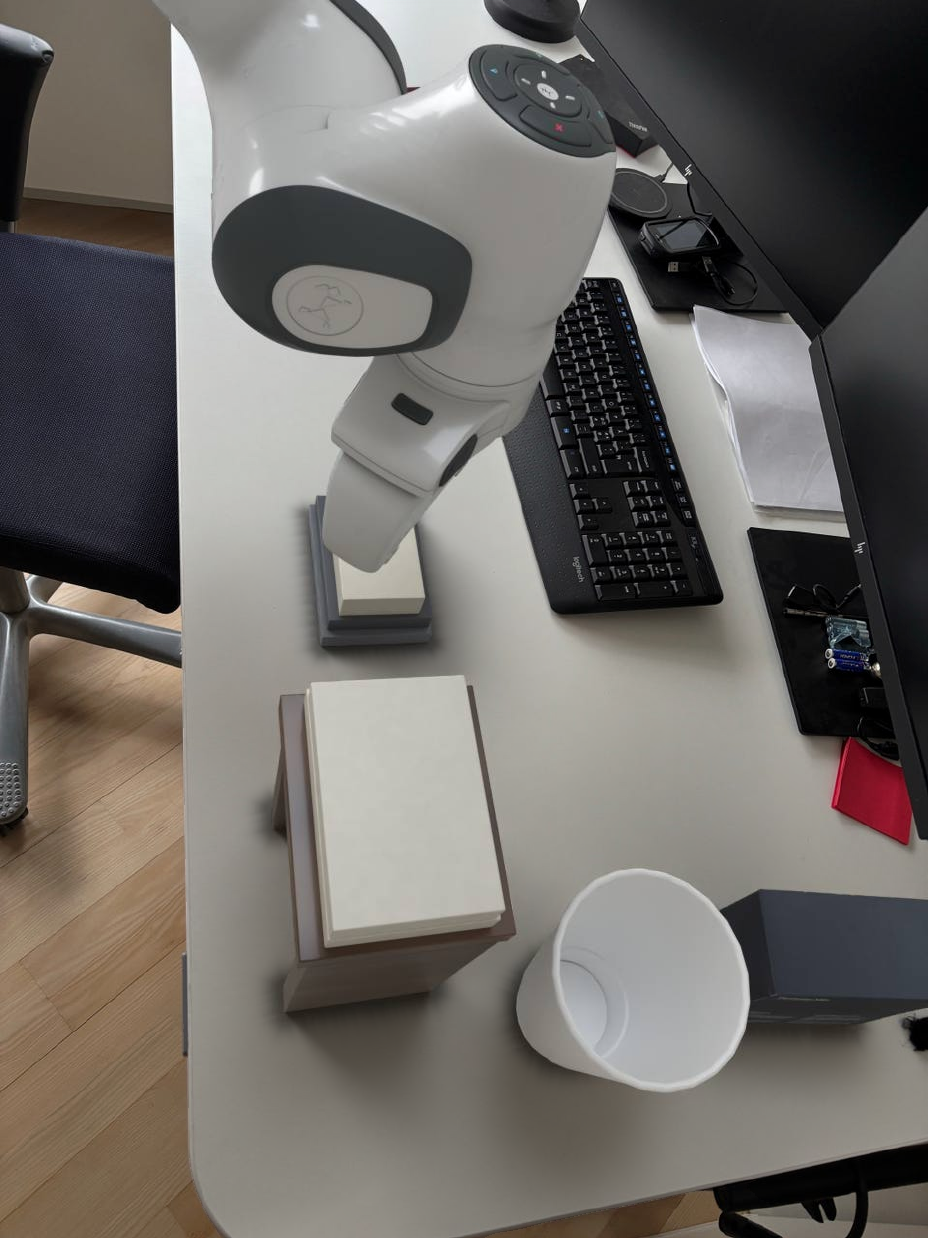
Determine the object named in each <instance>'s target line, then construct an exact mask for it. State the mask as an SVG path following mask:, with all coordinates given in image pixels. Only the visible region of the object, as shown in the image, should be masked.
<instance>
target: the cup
mask: <svg viewBox="0 0 928 1238" xmlns="http://www.w3.org/2000/svg"><path fill="white" fill-rule="evenodd" d="M515 1006H516V1007H515V1011H516V1015H517V1022H518V1025H519V1027H520V1030H521V1032H522V1034H523V1037H524V1038H525V1039H526V1041H527V1043H528V1044H529V1045H530V1046H531V1048H532V1049H534V1050H535V1051H536V1052H537V1053H538V1054H539V1055H541V1056H542V1057H544V1058H546V1059H547V1060H548V1061H550V1062H551V1063H552V1064H553V1063H554V1064H555V1065H557V1066H560V1067H562V1068H565V1069H567V1070H572V1071H576V1072H580V1073H583V1074H587V1075H591V1076H595V1077H598V1078H602V1079H606V1080H609V1081H610V1080H611V1081H614V1082H618V1083H622V1084H626V1085H628V1086H631V1087H632V1088H635V1089H637V1090H641V1091H648V1092H658V1093H663V1094H669V1093H672V1092H679V1091H684V1090H689V1089H693V1088H695V1087H697V1086H699V1085H701V1084H702V1083H704V1082H706V1081H708V1080H709V1079H711V1078H713V1077H714V1076H716V1075H717V1074H719V1072H720V1071H721V1070H722V1069H723V1068H724V1066H725V1065H727V1063H728V1062H729V1061H730V1060H731V1059H732V1057H733V1056H734V1055H735V1053H736V1051H737V1050H738V1047H739V1044H740V1043H741V1041H742V1038H743V1036H744V1034H745V1032H746V1028H747V1023H748V1022H747V1018H748V1012H749V1006H750V992H749V976H748V971H747V967H746V964H745V960H744V957H743V953H742V950H741V946H740V944H739V942H738V941H737V939H736V937H735V935H734V933H733V931H732V929H731V927H730V926H729V924H728V922H727V920H726V919H725V918H724V917H723V915H722V914H721V913H720V912H719V909H718V908H717V907H716V906H715V904H714V903H713V902H712V901H711V900H710V898H708V897H707V896H706V895H704V894H703V893H702V892H700V891H699V890H698V889H697V888H695V887H694V886H693V885H691V884H690V883H689V882H687V881H684V880H683V879H681V878H678V877H676V876H674V875H671V874H670V873H667V872H665V871H659V870H654V869H648V868H641V867H637V868H629V869H628V868H627V869H621V870H620V869H619V870H613V871H611V872H608V873H607V874H604V875H603V876H599V877H597V878H596V879H593V880H592V881H590V882H589V883H588V884H587V885H585V887H584V888H582V889H581V890H580V891H579V892H578V893H577V894H575V895H574V897H573V898H572V900H571V901H570V902H569V905H568V906H567V907H566V909H565V910H564V913H562V915H561V917H560V919H559V921H558V922H557V924H556V925H555V927H554V928H553V930H552V931H551V932H550V934H549V935H548V937H547V938H546V939H545V941H544V943H543V944H542V945H541V947H540V948H539V950H537V952H536V954H535V955H534V957H533V958H532V960H531V961H530V962H529V964H528V966H527V967H526V969H525V970H524V972H523V975H522V978H521V982H520V985H519V989H518V991H517V995H516V1005H515Z"/></svg>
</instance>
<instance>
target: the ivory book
mask: <svg viewBox="0 0 928 1238" xmlns="http://www.w3.org/2000/svg"><path fill="white" fill-rule="evenodd" d="M398 547H399V548H398V550H397V551H396V553H395V554H394V555H393V556H392V558H391V559H390V560H389V561H388V563H387V564H383V566H382V567H381V568H380V569H379V570H378V571H376V572H374V573H367V572H363V571H361V570H359V569H357V568H355V567H353V566H352V565H350V564H348V563H346V562H345V561H343V560H342V559H340V558H339V557H337V556H336V555H335V554H333V561H334V570H335V580H336V589H337V598H338V607H339V615H340V616H352V615H388V614H419V613H420V610H421V607H422V605H423V602H424V599H425V593H424V587H423V581H422V574H421V568H420V562H419V556H418V549H417V543H416V537H415V531H414V527H413V528H412V529H411V530H410V532H409V533H408V534H407V535H406V537H405V538H404V539H403V540H402V541H401V543H400V544H399V546H398Z"/></svg>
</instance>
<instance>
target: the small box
mask: <svg viewBox="0 0 928 1238" xmlns="http://www.w3.org/2000/svg"><path fill="white" fill-rule="evenodd" d="M718 911H719V912H720V913H721V914H722V915H723V917H724V918H725V919H726V920H727V922H728V924H729V926H730V927H731V929H732V931H733V933H734V935H735V937H736V939H737V941H738V942H739V944H740V946H741V950H742V953H743V957H744V960H745V964H746V967H747V971H748V976H749V992H750V1006H749V1012H748V1018H747V1023H751V1024H752V1023H753V1024H790V1025H791V1024H792V1025H825V1026H827V1025H828V1026H857V1025H862V1024H865V1023H866V1024H867V1023H870V1022H874V1021H879V1020H882V1019H886V1018H889V1017H894V1016H897V1015H901V1014H905V1013H911V1012H915V1011H920V1010H925V1009H928V899H925V898H924V899H923V898H911V897H896V896H895V897H894V896H879V895H864V894H845V893H832V892H831V893H830V892H818V891H817V892H816V891H802V890H788V889H774V888H773V889H769V888H759V889H757V890H756V891H753V892H752V893H749V894H748V895H746V896H744V897H742V898H740V899H738V900H736V901H734V902H732V903H730V904H728V905H726V906H725V907H723V908H720V909H718Z"/></svg>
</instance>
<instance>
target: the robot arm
mask: <svg viewBox="0 0 928 1238" xmlns="http://www.w3.org/2000/svg"><path fill="white" fill-rule="evenodd" d="M151 2H152V3H153V4H154V5H155V6H156V8H157V9H158V10H159V11H160V12H161V13H162V15H163V16H164V17H165V18H166V19H167V20H168V21H169V22H170V24H171V25H172V26H173V28H174V29H175V30H176V31H177V32H178V33H179V34H180V36H181V37H182V39H183V40H184V42H185V44H186V45H187V47H188V48H189V50H190V52H191V55H192V57H193V59H194V61H195V63H196V67H197V69H198V72H199V75H200V78H201V81H202V85H203V88H204V93H205V97H206V102H207V106H208V111H209V116H210V117H209V118H210V125H211V193H210V200H211V203H210V205H211V206H210V208H211V209H210V212H211V214H210V215H211V217H210V218H211V269H212V273H213V277H214V281H215V284H216V286H217V289H218V291H219V292H220V294H221V296H222V298H223V299H224V301H225V302H226V304H227V305H228V306H229V308H230V309H231V310H232V311H233V312H234V313H235V315H237V316H238V317H239V318H240V320H242V322H244V323H245V324H246V325H247V326H248V327H250V328H251V329H253V330H254V331H255V332H257V333H259V334H260V335H262V336H263V337H265V338H266V339H268V340H270V341H272V342H274V343H277V344H279V345H281V346H283V347H286V348H290V349H292V350H296V351H299V352H304V353H309V354H315V355H324V356H334V357H347V358H350V357H351V358H370V357H372V359H371V362H370V363H369V365H368V367H367V369H366V370H365V372H364V373H363V374H362V376H361V378H360V379H359V381H358V382H357V384H356V385H355V387H354V388H353V390H352V391H351V393H350V394H349V395H348V397H347V398H346V400H345V401H344V402H343V404H342V406H341V408H340V409H339V411H338V412H337V414H336V415H335V417H334V419H333V422H332V426H331V430H330V440H331V442H332V443H333V444H334V445H335V446H336V447H338V448H339V449H340V451H339V452H338V454H337V456H336V458H335V460H334V463H333V465H332V468H331V471H330V475H329V479H328V484H327V489H326V494H325V496H326V501H325V508H324V516H323V527H322V538H323V542H324V544H325V546H326V547H327V548H328V549H329V550H330V551H331V552H332V553H333V554H335V555H336V556H337V557H339V558H340V559H342V560H343V561H345V562H346V563H348V564H350V565H352V566H353V567H355V568H357V569H359V570H361V571H363V572H367V573H374V572H376V571H378V570H379V569H380V568H381V567H382V566H383V564H387V563H388V561H389V560H390V559H391V558H392V556H393V555H394V554H395V553H396V551H397V550H398V548H399V547H398V546H399V544H400V543H401V541H402V540H403V539H404V538H405V537H406V535H407V534H408V533H409V532H410V530H411V529H412V528H413V527H414V525H415V524H416V523H417V524H418V522H419V521H420V519H421V518H422V517H423V516H424V514H425V513H426V512H427V511H428V509H429V508H430V507H431V506H432V505H433V503H434V502H435V501H436V499H437V498H438V497H439V496H440V495H441V493H442V492H443V491H444V490H445V488H446V487H447V486H448V485H449V483H450V482H451V481H452V480H453V478H454V477H458V476H459V474H460V473H461V472H462V471H463V470H464V468H466V466H467V465H468V463H469V460H471V459H473V457H475V456H476V455H478V454H479V453H480V452H482V451H483V450H484V449H486V448H487V447H489V446H490V445H491V444H492V443H494V441H495V440H496V439H499V438H502V437H504V436H506V435H507V434H509V433H511V432H512V431H513V430H514V429H515V428H517V427H518V426H519V425H520V423H522V421H523V420H524V418H525V416H526V414H527V412H528V410H529V407H530V405H531V402H532V400H533V399H534V398H533V397H534V395H535V393H536V391H537V389H538V387H539V386H538V385H539V384H540V381H541V378H542V376H543V374H544V372H545V369H546V367H547V364H548V363H549V359H550V357H551V355H552V352H553V349H554V345H555V340H556V331H557V328H556V327H557V326H556V325H557V321H558V318H559V317H560V316H561V315H562V314H563V313H564V312H565V310H567V308H568V307H569V306H570V304H571V303H572V302H573V300H574V299H575V297H576V295H577V293H578V291H579V288H580V285H581V284H582V282H583V279H584V276H585V273H586V271H587V268H588V266H589V264H590V261H591V258H592V256H593V254H594V250H595V248H596V246H597V242H598V239H599V236H600V233H601V229H602V227H603V224H604V220H605V217H606V213H607V211H608V207H609V204H610V199H611V195H612V191H613V186H614V181H615V176H616V171H617V162H618V152H617V145H616V141H615V138H614V134H613V132H612V129H611V126H610V123H609V121H608V119H607V116H606V114H605V112H604V110H603V108H602V107H601V105H600V103H599V102H598V99H596V97H595V95H594V94H593V93H592V91H591V90H590V89H589V87H586V86H585V85H584V84H583V83H582V82H581V81H580V80H579V79H578V78H577V77H575V75H573V74H571V71H570V70H568V69H567V68H566V67H564V66H563V65H561V64H559V63H558V62H556V61H555V60H552V59H551V58H549V57H547V56H545V55H543V54H541V53H539V52H536V51H534V50H531V49H528V48H525V47H522V46H518V45H517V46H516V45H510V44H504V43H490V44H485V45H481V46H478V47H477V48H475V49H473V50H472V51H471V52H470V53H468V54H467V55H466V56H465V57H464V58H463V59H462V60H461V61H460V62H459V63H458V64H457V65H456V66H455V67H453V68H452V69H451V70H449V71H448V72H447V73H445V74H443V75H442V76H439V77H437V78H436V79H434V80H432V81H431V82H428V83H426V84H424V85H422V86H419V87H420V88H418V89H416V90H414V91H412V92H410V93H407V87H408V83H407V78H406V72H405V68H404V65H403V62H402V60H401V57H400V56H401V55H400V54H399V52H398V49H397V47H396V45H395V44H394V42H393V40H392V39H391V37H390V35H389V34H388V32H387V31H386V29H385V28H384V27H383V26H382V24H381V23H380V22H379V21H378V19H377V18H376V17H375V16H374V15H373V14H371V12H370V11H369V10H368V9H367V8H365V7H364V6H363V5H362V4H361V3H360V2H358V1H357V0H151Z"/></svg>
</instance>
